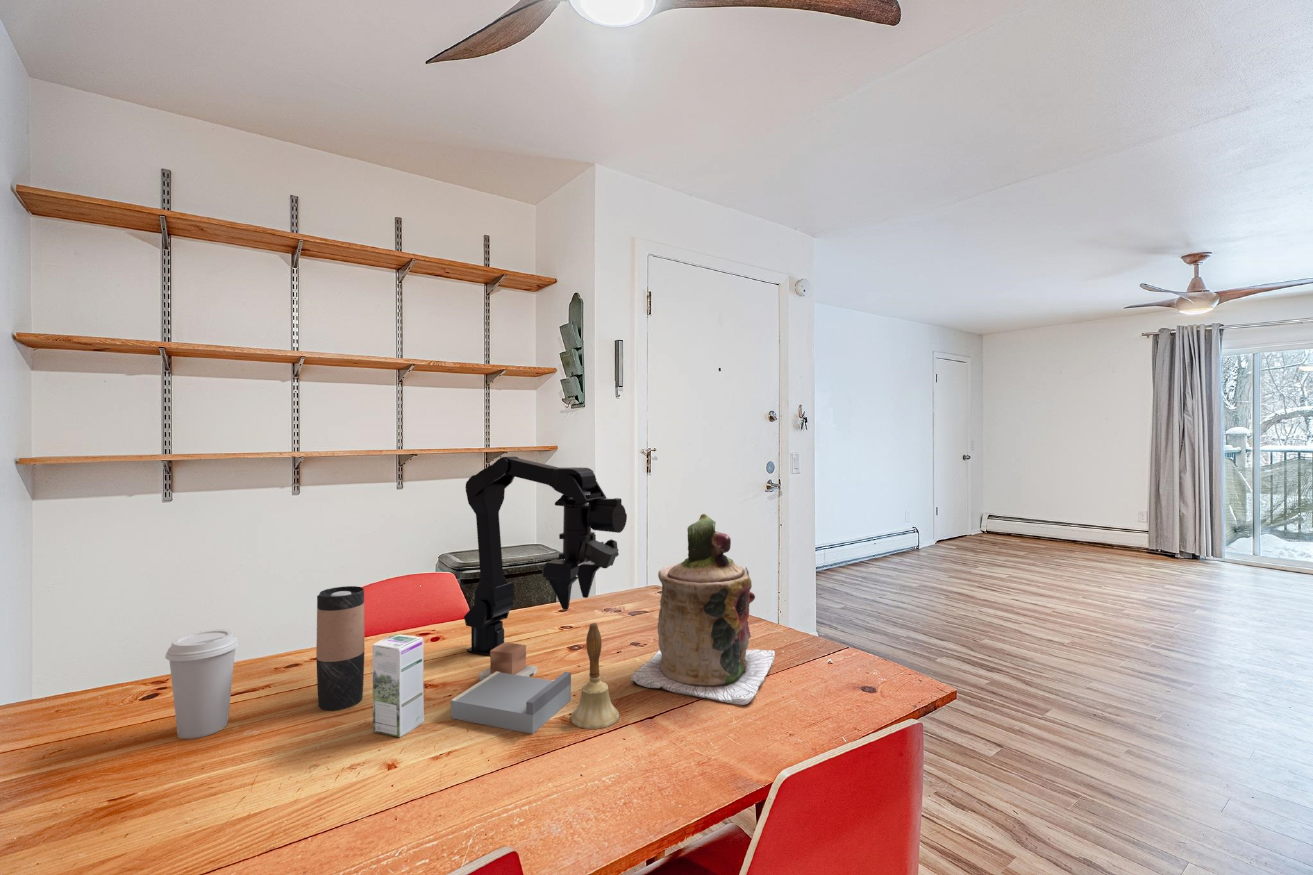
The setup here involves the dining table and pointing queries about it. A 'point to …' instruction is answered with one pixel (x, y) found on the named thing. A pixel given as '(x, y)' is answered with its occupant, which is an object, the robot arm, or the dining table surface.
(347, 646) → the travel mug
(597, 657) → the hand bell
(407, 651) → the syrup box
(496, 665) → the pallet
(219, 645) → the coffee cup
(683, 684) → the cookie jar
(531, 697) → the dock
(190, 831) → the dining table surface
